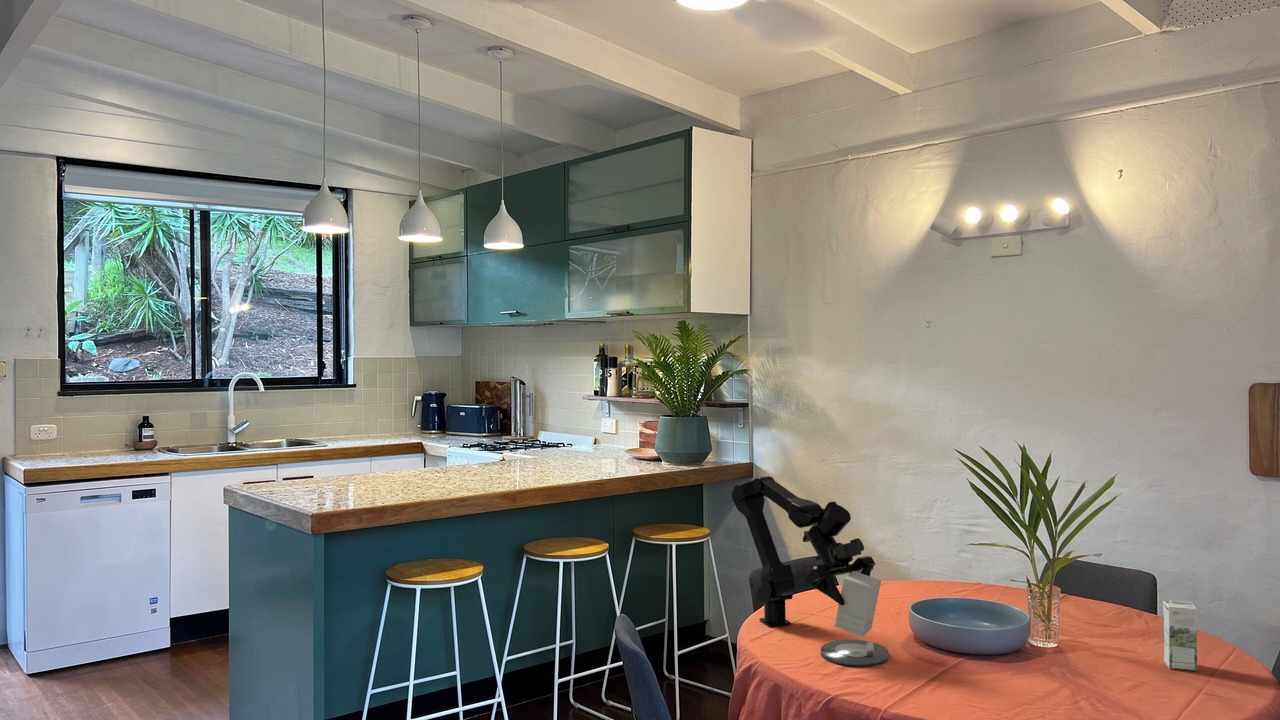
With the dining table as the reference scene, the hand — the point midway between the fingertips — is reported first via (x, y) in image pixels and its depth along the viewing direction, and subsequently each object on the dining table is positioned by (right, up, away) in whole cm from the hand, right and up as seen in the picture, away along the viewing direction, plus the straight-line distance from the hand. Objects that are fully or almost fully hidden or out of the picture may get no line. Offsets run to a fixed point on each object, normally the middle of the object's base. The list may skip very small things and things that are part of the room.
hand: (858, 601), depth 216 cm
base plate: (-1, -13, +1) cm, 13 cm away
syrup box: (+71, -12, -11) cm, 73 cm away
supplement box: (-1, -7, +1) cm, 7 cm away
